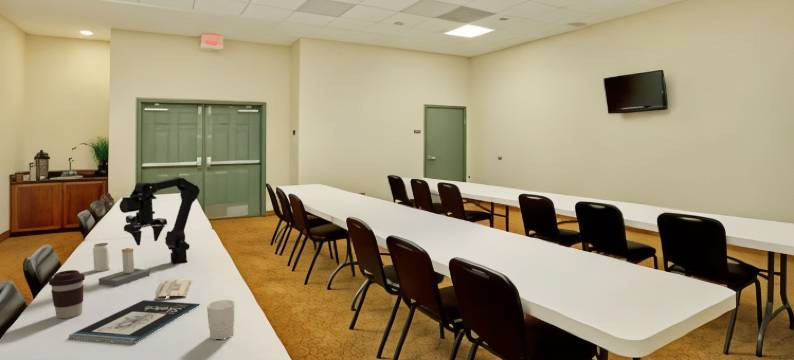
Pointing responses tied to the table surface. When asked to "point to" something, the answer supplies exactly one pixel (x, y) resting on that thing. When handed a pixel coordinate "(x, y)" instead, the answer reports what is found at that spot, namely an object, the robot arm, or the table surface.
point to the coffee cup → (67, 293)
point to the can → (101, 257)
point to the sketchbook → (134, 322)
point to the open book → (173, 288)
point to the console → (123, 277)
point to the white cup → (221, 319)
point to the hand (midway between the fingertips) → (147, 243)
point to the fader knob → (128, 260)
